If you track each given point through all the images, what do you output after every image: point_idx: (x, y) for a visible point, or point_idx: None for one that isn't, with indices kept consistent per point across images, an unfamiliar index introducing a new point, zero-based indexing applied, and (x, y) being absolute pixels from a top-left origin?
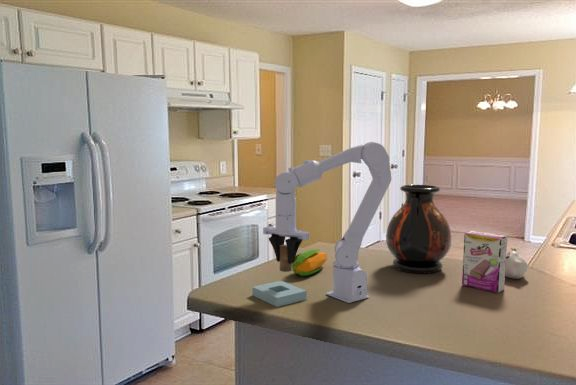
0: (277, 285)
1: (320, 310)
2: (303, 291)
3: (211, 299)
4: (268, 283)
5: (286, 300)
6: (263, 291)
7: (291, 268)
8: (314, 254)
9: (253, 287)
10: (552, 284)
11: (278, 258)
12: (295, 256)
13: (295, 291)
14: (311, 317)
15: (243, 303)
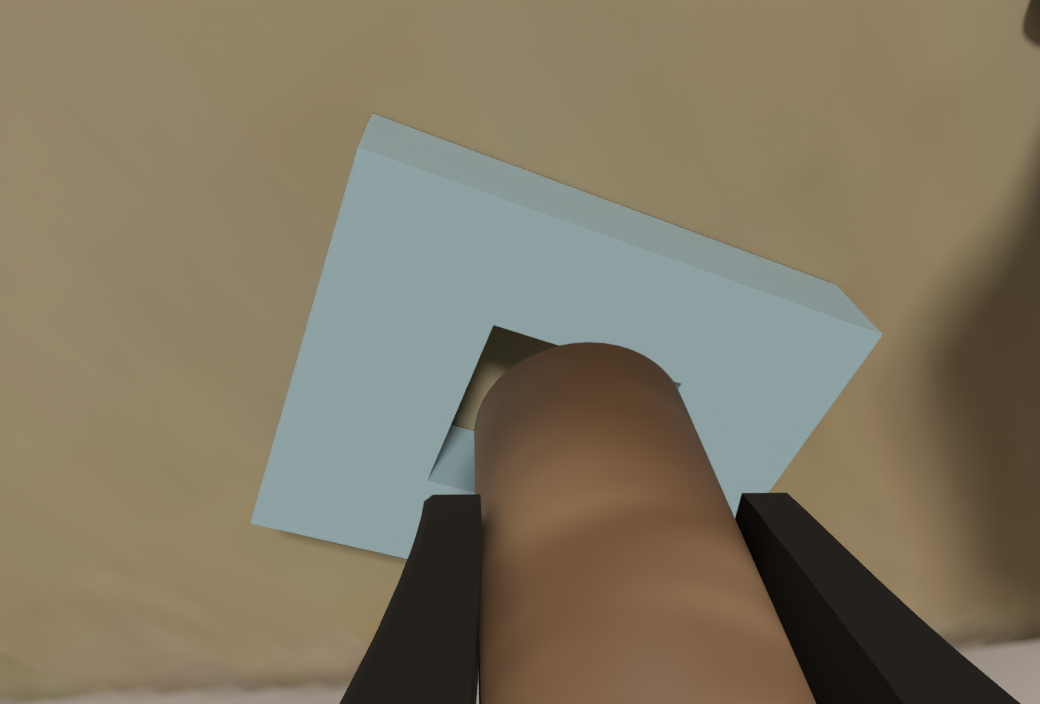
0: (460, 353)
1: (1036, 442)
2: (854, 367)
3: (85, 672)
4: (308, 348)
5: None
6: None
7: (692, 422)
8: None
9: (275, 528)
10: None
11: (477, 667)
12: (872, 575)
13: (767, 414)
14: (988, 574)
15: (366, 617)
